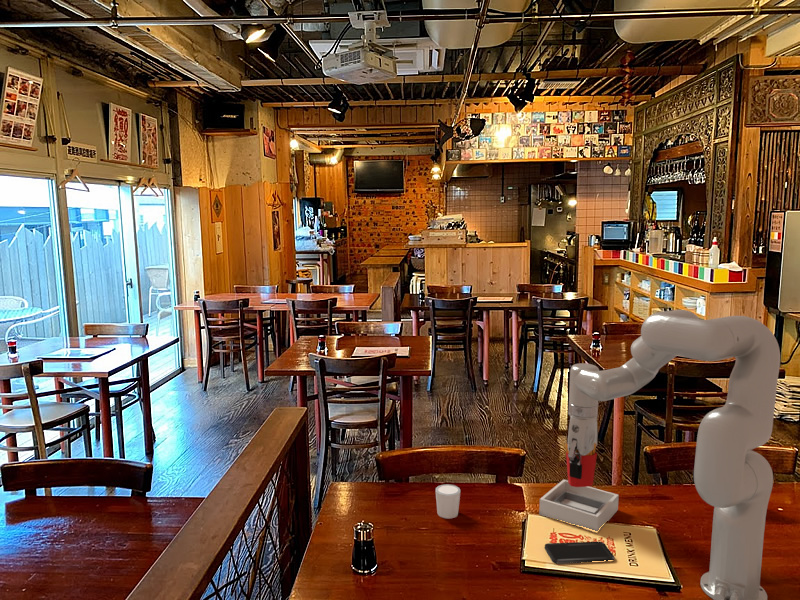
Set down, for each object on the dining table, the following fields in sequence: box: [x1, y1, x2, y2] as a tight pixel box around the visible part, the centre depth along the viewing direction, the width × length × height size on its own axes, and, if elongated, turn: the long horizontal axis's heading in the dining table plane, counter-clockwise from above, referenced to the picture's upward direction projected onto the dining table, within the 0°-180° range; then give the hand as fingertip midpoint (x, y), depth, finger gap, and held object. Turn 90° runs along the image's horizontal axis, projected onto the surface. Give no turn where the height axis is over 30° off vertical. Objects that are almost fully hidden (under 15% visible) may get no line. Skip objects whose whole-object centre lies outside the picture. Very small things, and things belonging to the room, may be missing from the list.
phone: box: [544, 541, 615, 565], centre depth 144 cm, size 8×1×15 cm
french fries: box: [564, 443, 598, 487], centre depth 162 cm, size 8×4×12 cm, turn 96°
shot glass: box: [435, 483, 461, 520], centre depth 163 cm, size 7×7×7 cm
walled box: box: [538, 478, 620, 531], centre depth 164 cm, size 16×16×4 cm
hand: (580, 473), depth 163 cm, fingers closed on french fries, 5 cm apart
